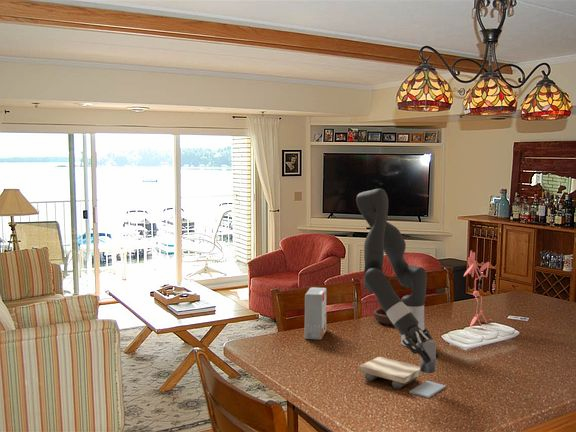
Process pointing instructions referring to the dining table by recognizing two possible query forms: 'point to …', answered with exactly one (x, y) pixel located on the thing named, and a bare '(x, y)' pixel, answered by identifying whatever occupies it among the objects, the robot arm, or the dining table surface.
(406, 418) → the dining table surface
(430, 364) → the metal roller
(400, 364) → the birch slab
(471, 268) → the figurine
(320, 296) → the hard drive box
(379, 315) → the dish
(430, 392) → the slate-grey pad
